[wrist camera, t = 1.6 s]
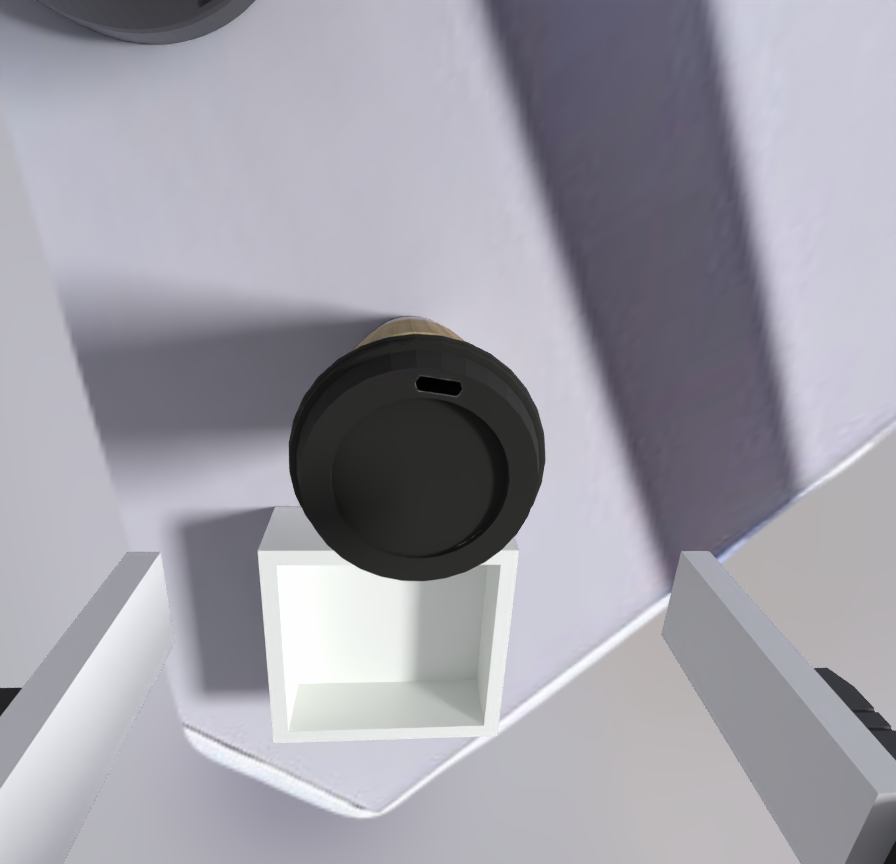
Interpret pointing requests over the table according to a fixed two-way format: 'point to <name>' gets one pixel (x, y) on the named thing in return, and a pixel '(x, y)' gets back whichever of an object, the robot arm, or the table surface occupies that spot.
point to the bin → (379, 643)
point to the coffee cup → (416, 453)
